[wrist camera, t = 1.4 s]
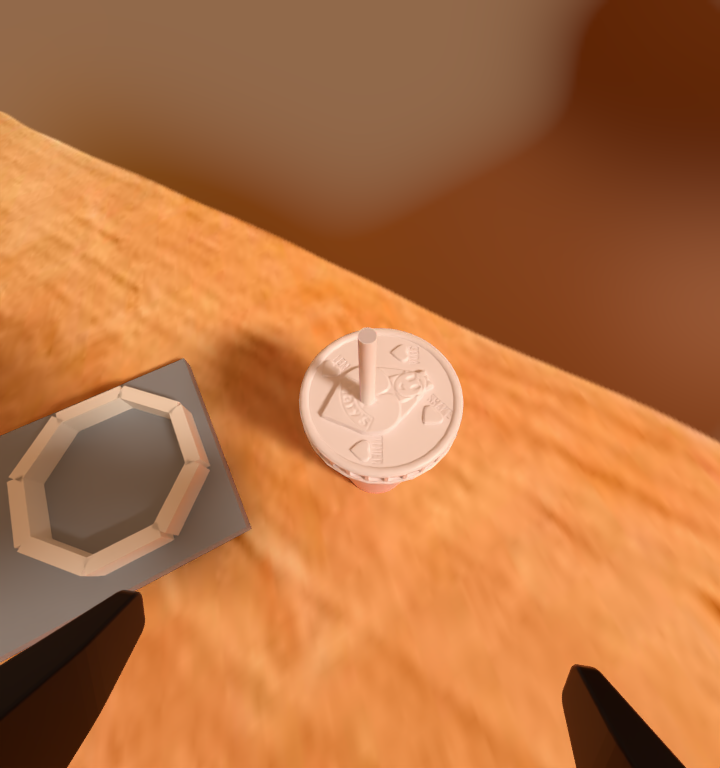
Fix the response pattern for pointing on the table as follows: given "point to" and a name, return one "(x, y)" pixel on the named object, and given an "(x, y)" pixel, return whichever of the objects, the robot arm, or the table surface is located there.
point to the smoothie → (380, 407)
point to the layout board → (108, 501)
